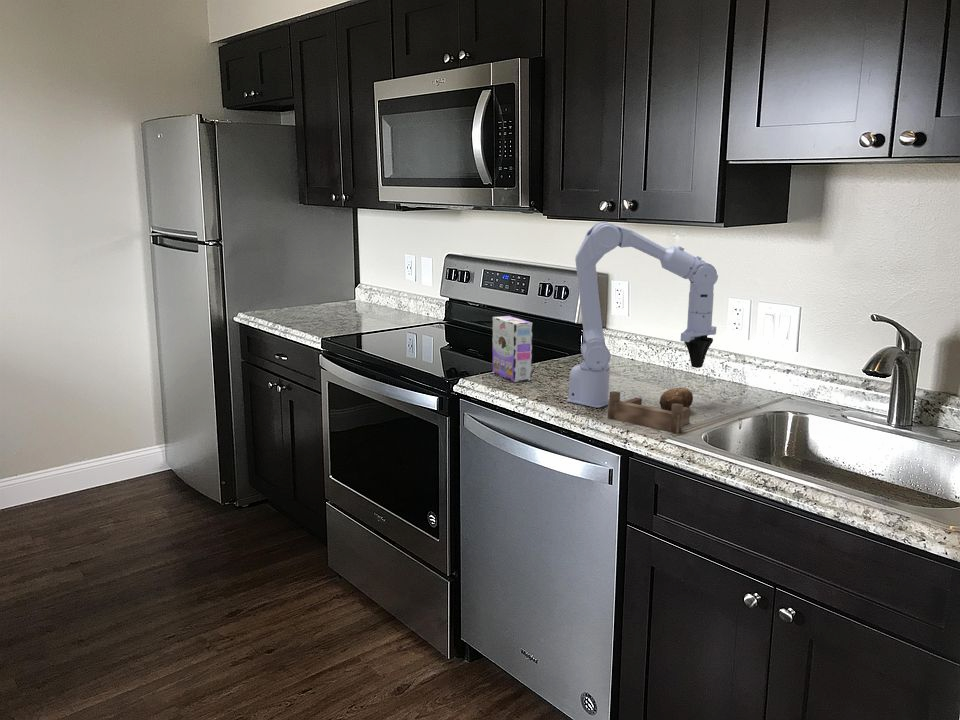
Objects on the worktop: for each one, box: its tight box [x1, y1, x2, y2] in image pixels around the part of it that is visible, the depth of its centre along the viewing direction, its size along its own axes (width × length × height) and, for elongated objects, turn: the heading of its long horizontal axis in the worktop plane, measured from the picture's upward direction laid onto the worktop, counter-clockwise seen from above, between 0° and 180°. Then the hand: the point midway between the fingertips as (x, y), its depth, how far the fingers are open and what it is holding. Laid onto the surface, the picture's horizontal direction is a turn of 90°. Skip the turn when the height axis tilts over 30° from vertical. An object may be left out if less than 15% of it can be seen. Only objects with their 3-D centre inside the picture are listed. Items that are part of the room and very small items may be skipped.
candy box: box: [491, 315, 534, 383], centre depth 232 cm, size 14×6×16 cm, turn 25°
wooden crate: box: [607, 390, 691, 434], centre depth 190 cm, size 18×9×6 cm, turn 48°
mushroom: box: [659, 387, 694, 411], centre depth 199 cm, size 8×8×6 cm
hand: (696, 366), depth 204 cm, fingers closed
